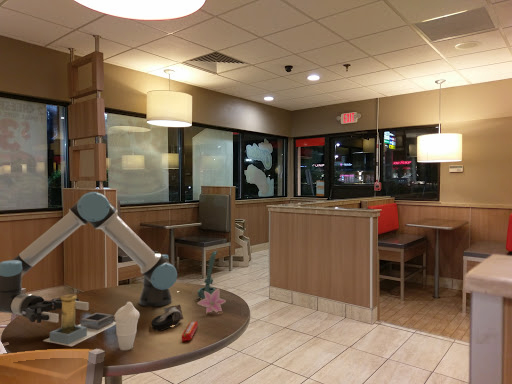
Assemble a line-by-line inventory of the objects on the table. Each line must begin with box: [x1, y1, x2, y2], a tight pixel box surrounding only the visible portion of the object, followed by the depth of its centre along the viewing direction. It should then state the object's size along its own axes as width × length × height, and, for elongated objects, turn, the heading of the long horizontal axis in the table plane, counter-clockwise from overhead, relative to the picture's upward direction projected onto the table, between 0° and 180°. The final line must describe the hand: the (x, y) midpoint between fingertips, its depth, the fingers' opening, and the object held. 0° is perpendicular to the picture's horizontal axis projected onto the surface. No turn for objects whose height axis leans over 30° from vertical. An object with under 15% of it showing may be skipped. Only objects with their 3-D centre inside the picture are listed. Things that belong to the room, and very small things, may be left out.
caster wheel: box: [150, 304, 184, 331], centre depth 145 cm, size 7×11×10 cm
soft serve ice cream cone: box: [113, 301, 141, 351], centre depth 125 cm, size 8×8×16 cm
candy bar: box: [181, 320, 199, 342], centre depth 138 cm, size 16×4×3 cm, turn 179°
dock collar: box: [49, 324, 87, 344], centre depth 130 cm, size 8×8×3 cm
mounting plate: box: [42, 321, 116, 347], centre depth 137 cm, size 24×13×1 cm, turn 162°
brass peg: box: [59, 293, 78, 334], centre depth 130 cm, size 5×5×15 cm
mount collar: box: [80, 312, 114, 330], centre depth 143 cm, size 8×8×3 cm
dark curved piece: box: [197, 250, 218, 299], centre depth 182 cm, size 14×10×25 cm
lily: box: [197, 288, 227, 314], centre depth 164 cm, size 12×12×10 cm
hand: (73, 312), depth 129 cm, fingers open, 13 cm apart
